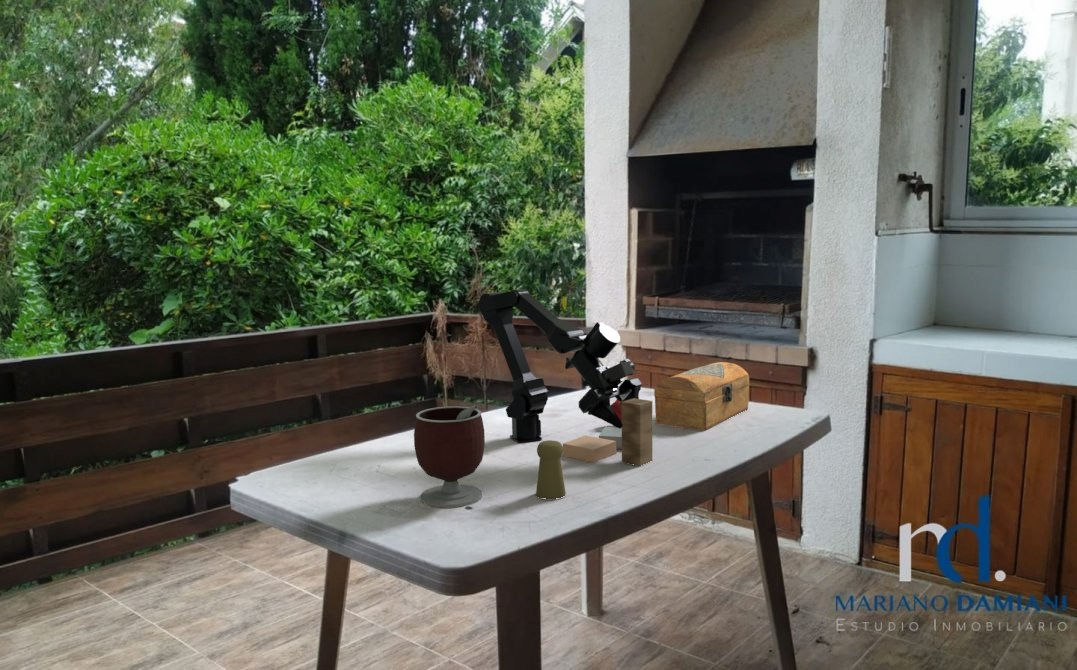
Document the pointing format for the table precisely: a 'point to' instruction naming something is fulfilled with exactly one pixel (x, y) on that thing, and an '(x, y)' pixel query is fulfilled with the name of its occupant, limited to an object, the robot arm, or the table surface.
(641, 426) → the walnut pillar
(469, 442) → the mate gourd
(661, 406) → the wooden box
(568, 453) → the terracotta slab
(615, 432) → the stone slab
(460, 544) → the table surface
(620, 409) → the onion
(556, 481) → the olive green game pawn
